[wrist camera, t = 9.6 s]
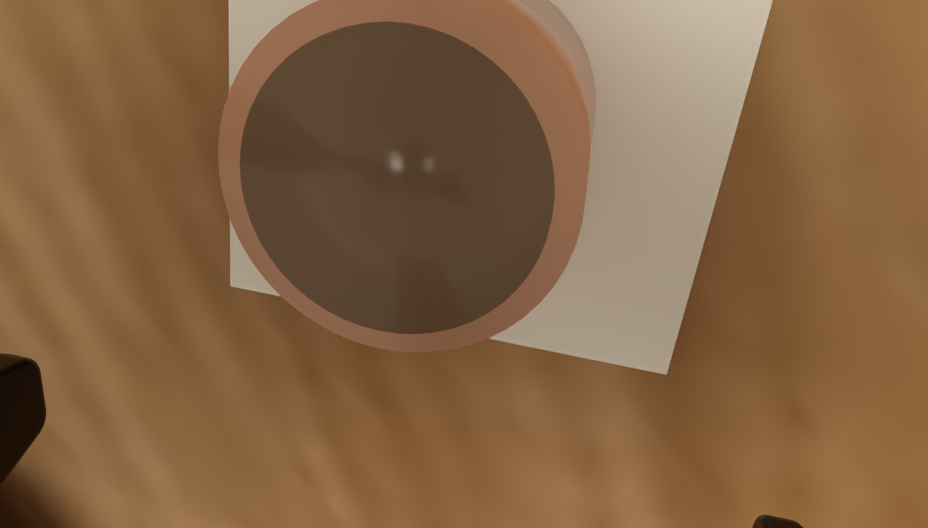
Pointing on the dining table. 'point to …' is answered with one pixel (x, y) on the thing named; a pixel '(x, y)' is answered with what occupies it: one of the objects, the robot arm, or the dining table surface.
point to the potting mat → (618, 167)
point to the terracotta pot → (411, 164)
